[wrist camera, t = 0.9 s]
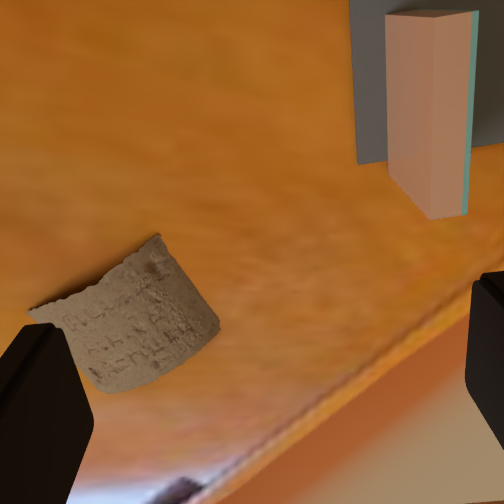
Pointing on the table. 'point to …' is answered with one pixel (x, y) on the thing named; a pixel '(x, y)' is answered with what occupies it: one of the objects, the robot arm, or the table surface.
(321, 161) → the table surface
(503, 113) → the mat
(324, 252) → the table surface
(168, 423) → the table surface
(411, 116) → the tile
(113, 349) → the clay tablet
